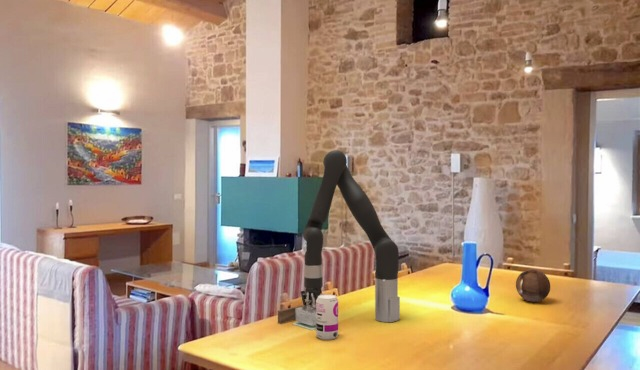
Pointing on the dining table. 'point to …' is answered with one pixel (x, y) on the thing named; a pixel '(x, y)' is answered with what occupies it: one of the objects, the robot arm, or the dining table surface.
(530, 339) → the dining table surface
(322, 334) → the supplement can
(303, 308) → the bracket
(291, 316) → the brown wooden corner wall
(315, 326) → the pad
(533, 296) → the wooden sphere
